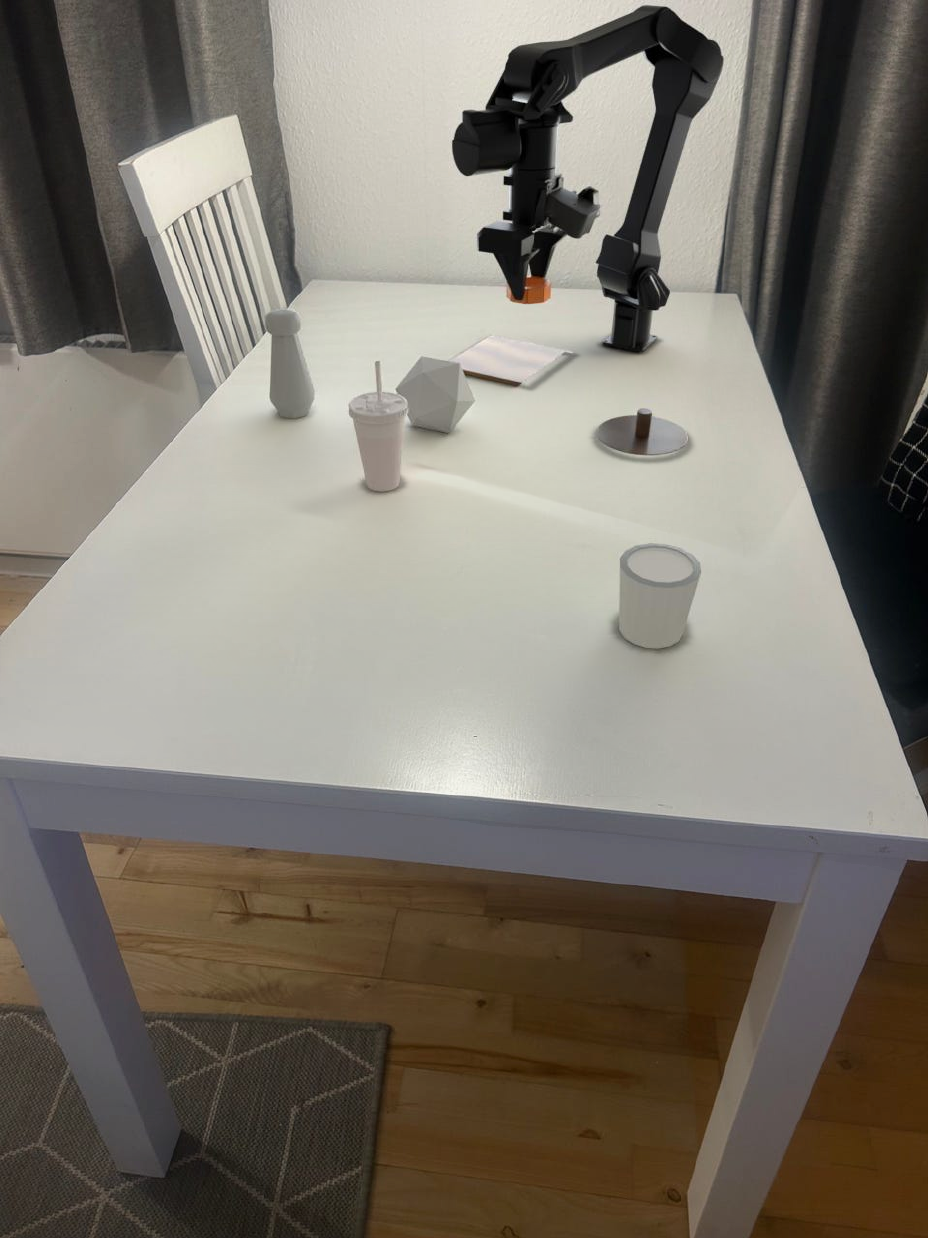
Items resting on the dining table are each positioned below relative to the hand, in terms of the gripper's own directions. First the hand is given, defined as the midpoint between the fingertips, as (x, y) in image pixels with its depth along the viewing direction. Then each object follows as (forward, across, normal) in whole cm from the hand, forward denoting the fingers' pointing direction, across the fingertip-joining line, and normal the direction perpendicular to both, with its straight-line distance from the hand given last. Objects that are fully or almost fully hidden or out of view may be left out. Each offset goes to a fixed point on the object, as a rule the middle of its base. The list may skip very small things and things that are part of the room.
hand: (528, 293), depth 122 cm
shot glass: (+11, -48, -36) cm, 61 cm away
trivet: (+11, +2, +4) cm, 12 cm away
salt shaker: (+11, -27, +20) cm, 35 cm away
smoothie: (+11, -37, 0) cm, 39 cm away
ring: (0, 0, 0) cm, 0 cm away
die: (+11, -21, +2) cm, 24 cm away
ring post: (+11, -12, -22) cm, 28 cm away
